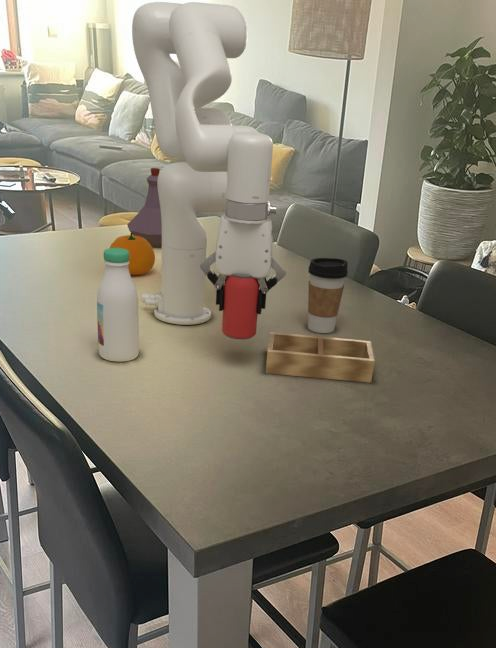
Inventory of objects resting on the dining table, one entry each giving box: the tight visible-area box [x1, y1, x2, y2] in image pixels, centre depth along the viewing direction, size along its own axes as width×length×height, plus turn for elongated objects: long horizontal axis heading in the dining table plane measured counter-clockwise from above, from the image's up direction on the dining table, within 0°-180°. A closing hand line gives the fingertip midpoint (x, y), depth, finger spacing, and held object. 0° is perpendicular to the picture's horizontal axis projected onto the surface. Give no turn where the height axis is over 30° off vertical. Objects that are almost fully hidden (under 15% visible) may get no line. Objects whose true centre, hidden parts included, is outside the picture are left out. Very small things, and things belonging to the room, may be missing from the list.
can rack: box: [265, 331, 376, 384], centre depth 152 cm, size 20×11×4 cm, turn 87°
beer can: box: [221, 274, 260, 340], centre depth 145 cm, size 7×7×12 cm
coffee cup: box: [307, 257, 349, 334], centre depth 168 cm, size 8×8×15 cm
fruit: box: [109, 232, 156, 276], centre depth 195 cm, size 12×12×10 cm
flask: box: [127, 167, 162, 248], centre depth 218 cm, size 16×16×20 cm
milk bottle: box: [96, 247, 140, 363], centre depth 145 cm, size 8×8×20 cm
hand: (240, 309), depth 146 cm, fingers closed on beer can, 6 cm apart
